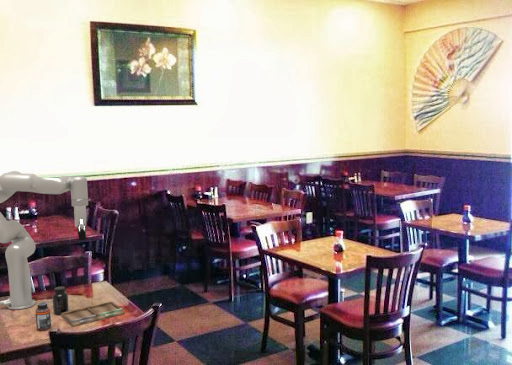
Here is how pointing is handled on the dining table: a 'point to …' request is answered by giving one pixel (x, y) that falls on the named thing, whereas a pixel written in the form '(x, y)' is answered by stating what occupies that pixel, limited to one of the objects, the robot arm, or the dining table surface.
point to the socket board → (92, 313)
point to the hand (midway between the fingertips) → (81, 237)
